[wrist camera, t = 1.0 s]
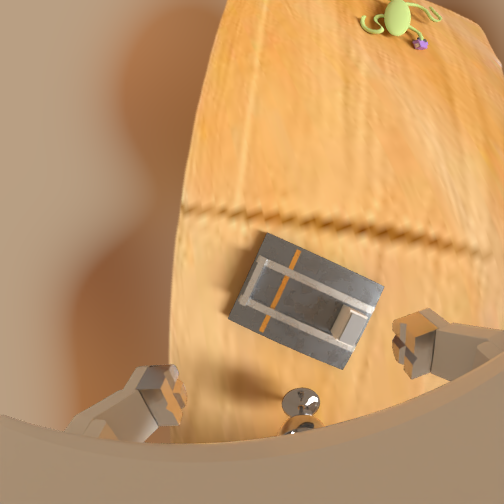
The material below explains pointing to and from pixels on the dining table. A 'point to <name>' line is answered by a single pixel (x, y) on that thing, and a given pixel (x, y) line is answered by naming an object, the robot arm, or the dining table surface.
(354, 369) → the dining table surface
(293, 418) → the wine glass
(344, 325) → the fader tab
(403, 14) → the figurine
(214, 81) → the dining table surface
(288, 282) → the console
